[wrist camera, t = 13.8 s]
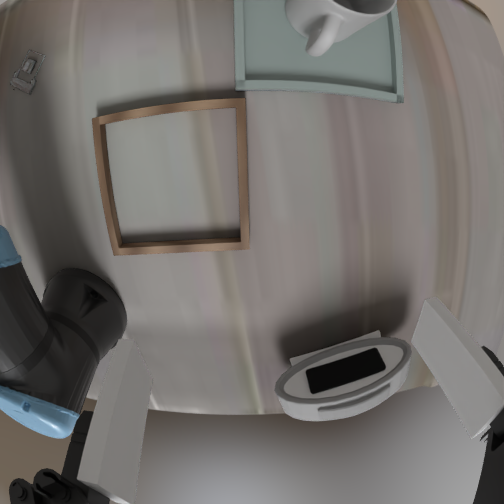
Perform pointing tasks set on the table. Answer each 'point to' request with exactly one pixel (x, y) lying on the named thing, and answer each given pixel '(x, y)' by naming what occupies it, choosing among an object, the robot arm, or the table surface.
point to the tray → (310, 67)
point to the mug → (332, 19)
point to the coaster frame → (177, 245)
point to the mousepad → (26, 68)
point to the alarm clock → (344, 378)
